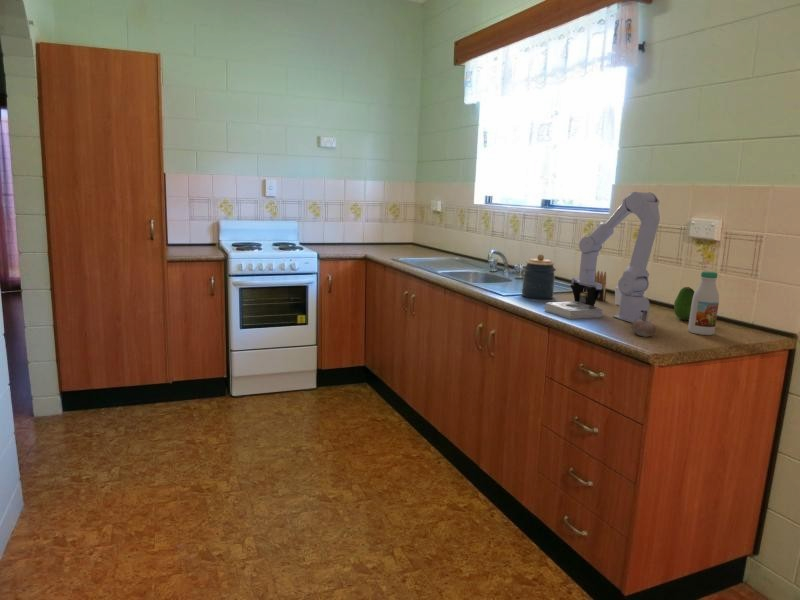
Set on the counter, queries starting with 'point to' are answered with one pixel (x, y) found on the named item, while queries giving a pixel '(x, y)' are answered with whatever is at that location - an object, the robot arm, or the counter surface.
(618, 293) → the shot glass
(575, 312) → the block
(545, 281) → the canister
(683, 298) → the avocado
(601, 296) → the ammunition clip
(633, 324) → the garlic bulb
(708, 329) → the milk bottle
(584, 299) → the bushing
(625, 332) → the counter surface
